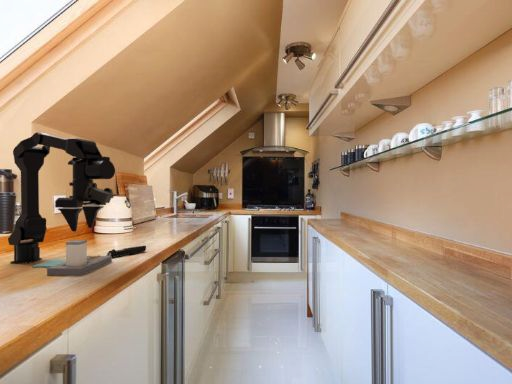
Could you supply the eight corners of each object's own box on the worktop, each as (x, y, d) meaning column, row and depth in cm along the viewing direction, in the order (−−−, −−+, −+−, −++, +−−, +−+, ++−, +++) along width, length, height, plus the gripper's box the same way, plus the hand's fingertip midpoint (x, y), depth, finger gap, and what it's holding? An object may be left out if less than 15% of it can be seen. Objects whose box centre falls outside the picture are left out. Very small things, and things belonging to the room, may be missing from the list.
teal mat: (32, 267, 100) (32, 265, 100) (53, 260, 110) (53, 259, 110) (63, 267, 99) (63, 266, 99) (81, 260, 109) (81, 259, 109)
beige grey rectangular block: (65, 272, 94) (65, 242, 94) (73, 268, 98) (74, 239, 98) (79, 272, 94) (79, 242, 94) (86, 268, 98) (87, 240, 98)
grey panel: (46, 275, 90) (46, 266, 90) (82, 261, 108) (82, 254, 108) (81, 275, 90) (81, 267, 90) (111, 261, 108) (111, 254, 108)
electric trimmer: (148, 253, 125) (148, 245, 125) (110, 259, 113) (110, 250, 113) (142, 252, 128) (142, 244, 128) (105, 258, 115) (105, 249, 115)
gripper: (93, 178, 89) (93, 233, 89) (121, 180, 107) (121, 226, 107) (54, 178, 89) (53, 233, 89) (88, 180, 107) (88, 226, 107)
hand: (82, 229), depth 98 cm, fingers open, 9 cm apart
